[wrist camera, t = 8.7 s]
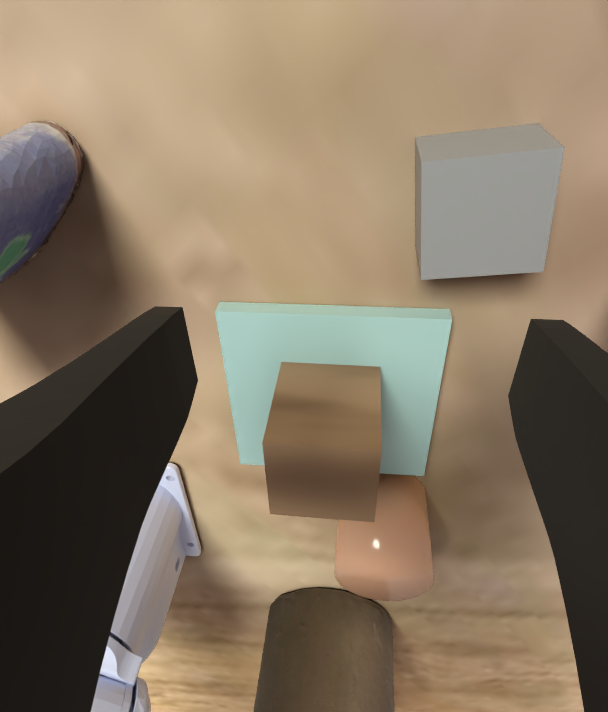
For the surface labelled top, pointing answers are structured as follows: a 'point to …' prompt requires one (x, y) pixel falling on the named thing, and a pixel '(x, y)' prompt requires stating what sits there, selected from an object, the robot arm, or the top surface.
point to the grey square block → (485, 201)
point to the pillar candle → (326, 655)
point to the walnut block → (324, 441)
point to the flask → (34, 189)
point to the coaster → (341, 347)
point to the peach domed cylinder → (388, 544)
